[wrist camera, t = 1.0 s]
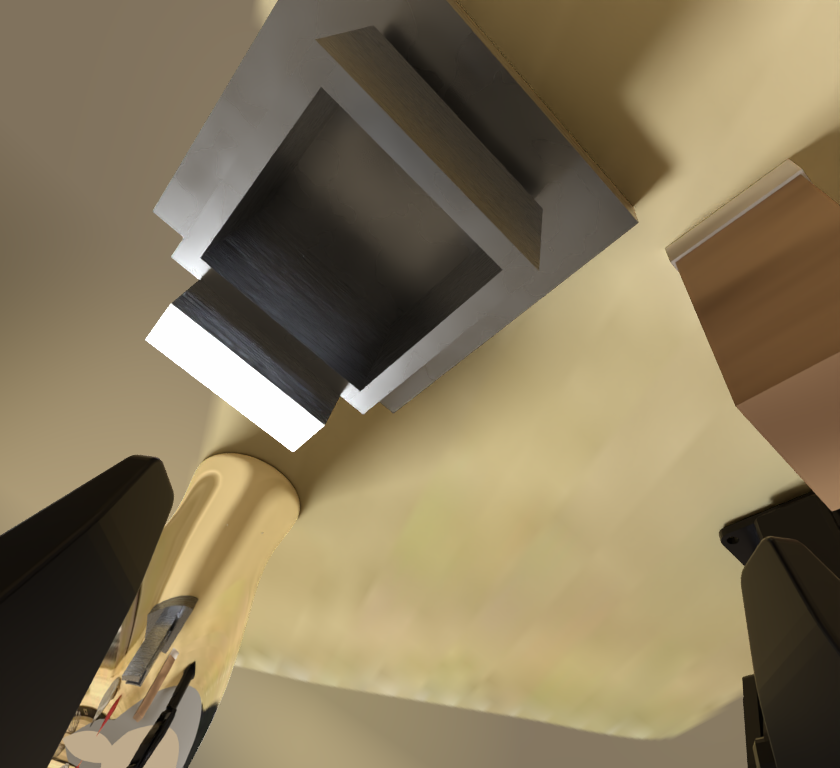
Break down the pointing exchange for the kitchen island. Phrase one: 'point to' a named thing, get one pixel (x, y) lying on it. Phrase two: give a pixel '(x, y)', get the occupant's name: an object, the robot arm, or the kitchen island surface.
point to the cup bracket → (369, 211)
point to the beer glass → (184, 622)
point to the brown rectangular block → (775, 315)
